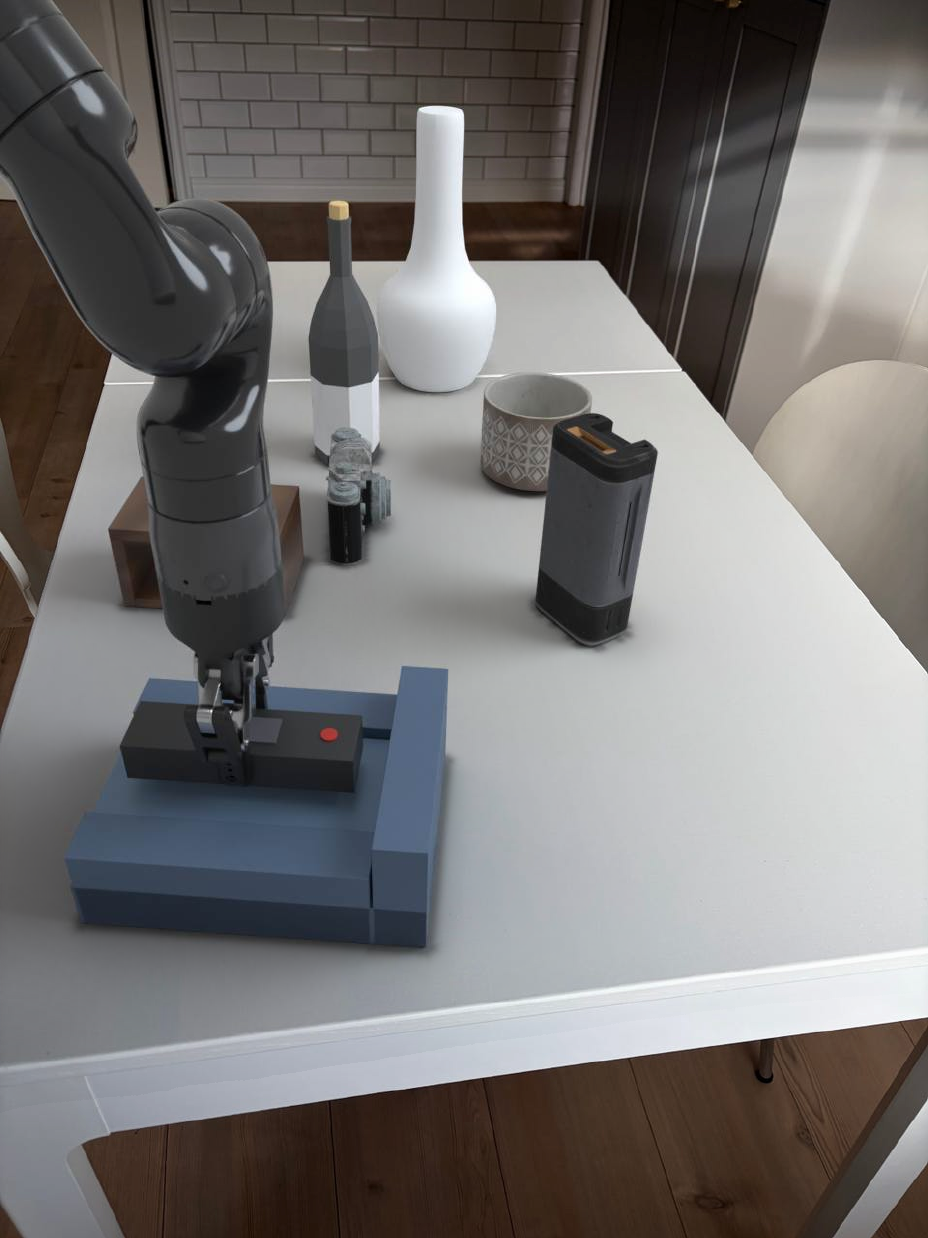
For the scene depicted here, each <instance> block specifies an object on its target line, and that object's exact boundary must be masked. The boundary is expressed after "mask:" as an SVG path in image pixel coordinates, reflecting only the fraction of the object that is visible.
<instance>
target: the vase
mask: <svg viewBox="0 0 928 1238" xmlns="http://www.w3.org/2000/svg"><path fill="white" fill-rule="evenodd" d="M415 133H416V141H415V142H416V144H415V145H416V151H415V152H416V156H415V157H416V160H415V161H416V163H415V165H416V167H415V202H414V220H413V221H414V222H413V228H412V229H413V230H412V235H411V236H412V237H411V243H410V248H409V252H408V254H407V256H406V259H405V262H404V263H403V264H402V266H401V267H400V269H398V271H397V272H395V273H394V274H393V275H392V276H391V277H389V278H388V279H387V280H386V281H385V282H384V283H383V285H382V287H381V289H380V291H379V294H378V296H377V302H376V322H377V323H376V324H377V332H378V337H379V340H380V344H381V348H382V351H383V355H384V358H385V360H386V363H387V364H388V366H389V368H390V370H391V372H392V374H393V375H394V376H395V378H396V379H397V381H398V382H399V383H401V384H402V385H404V386H405V387H407V388H410V389H411V390H416V391H419V392H427V393H449V392H455V391H459V390H462V389H465V388H466V387H468V386H470V385H471V384H472V383H473V382H474V381H475V380H476V378H477V376H478V375H479V374H480V372H481V371H482V370H483V367H484V365H485V363H486V361H487V359H488V355H489V353H490V351H491V347H492V343H493V339H494V335H495V331H496V330H495V329H496V324H497V323H496V322H497V304H496V303H497V302H496V299H495V296H494V292H493V291H492V289H491V287H490V286H489V284H488V283H487V282H486V281H485V280H484V279H483V278H482V277H481V276H480V275H478V274H477V273H476V271H475V270H474V268H473V267H472V265H471V263H470V261H469V258H468V254H467V251H466V246H465V237H464V236H465V235H464V225H463V175H464V173H463V170H464V146H465V145H464V144H465V140H464V139H465V114H464V110H463V109H461V108H458V107H454V106H446V105H429V106H422V107H419V108H418V110H417V112H416V132H415Z"/></svg>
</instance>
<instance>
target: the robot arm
mask: <svg viewBox="0 0 928 1238" xmlns="http://www.w3.org/2000/svg"><path fill="white" fill-rule="evenodd" d="M137 122H138V121H137V119H136V116H135V113H134V112H133V109H132V107H131V106H130V105H129V102H128V101H127V99H126V97H124V95H123V94H122V92H121V91H120V88H119V87H118V86H117V85H116V83H115V82H114V81H113V80H112V78H111V77H110V76H109V74H108V73H107V72H106V71H105V69H104V67H103V66H102V65H101V64H100V62H99V61H98V60H97V58H96V57H95V55H94V54H93V53H92V52H91V50H90V48H88V46H87V45H86V43H84V41H83V39H82V38H81V37H80V36H79V34H78V33H77V31H76V30H75V29H74V27H73V26H72V25H71V24H70V22H69V21H68V20H67V18H66V17H65V15H64V14H63V13H62V11H61V10H60V8H59V7H58V6H57V5H56V4H55V2H54V1H53V0H0V179H1V180H2V181H3V182H4V183H5V184H6V185H7V186H8V187H9V189H10V190H11V192H12V194H13V196H14V199H15V200H16V202H17V204H18V206H19V208H20V211H21V212H22V214H23V217H24V219H25V221H26V223H27V225H28V228H29V229H30V232H31V234H32V236H33V238H34V239H35V241H36V243H37V245H38V247H39V248H40V250H41V252H42V254H43V256H44V257H45V259H46V261H47V263H48V265H49V267H50V269H51V270H52V272H53V274H54V276H55V278H56V280H57V282H58V284H59V286H60V287H61V289H62V291H63V293H64V295H65V297H66V298H67V300H68V302H69V304H70V305H71V307H72V308H73V311H74V312H75V314H76V315H77V316H78V318H79V319H80V320H81V322H82V323H83V325H84V327H86V329H87V330H88V332H89V333H90V334H91V335H92V336H93V337H94V338H95V339H96V340H97V342H98V343H100V345H102V346H103V347H104V348H105V349H106V350H107V351H108V352H110V353H111V354H112V355H113V356H114V357H116V359H118V360H120V361H121V362H122V363H124V364H126V365H128V366H129V367H131V368H133V369H134V370H137V371H138V372H141V373H143V374H146V375H150V376H153V377H154V380H153V383H152V386H151V388H150V390H149V392H148V394H147V396H146V398H145V399H144V400H143V403H142V405H141V406H140V408H139V410H138V414H137V418H136V442H137V449H138V456H139V460H140V465H141V470H142V471H141V472H142V476H143V477H144V482H145V488H146V493H147V501H148V510H149V535H150V542H151V547H152V552H153V558H154V563H155V569H156V574H157V579H158V585H159V590H160V596H161V601H162V607H163V609H162V612H163V618H164V623H165V625H166V627H167V630H168V631H169V633H170V634H171V635H172V636H173V638H175V639H176V640H178V641H179V642H180V643H181V644H183V645H184V646H186V647H188V649H191V650H192V651H193V652H194V654H193V676H194V677H195V679H196V681H198V691H199V705H195V704H187V706H186V708H185V710H184V721H185V724H186V726H187V729H188V731H189V734H190V736H191V739H192V742H193V744H194V747H195V749H196V752H197V754H198V757H199V759H200V762H204V763H209V762H215V763H217V768H218V774H219V780H220V782H221V783H222V784H223V785H227V786H241V787H248V786H250V785H251V783H252V779H253V769H252V761H251V752H250V739H249V721H250V720H251V718H252V716H253V714H254V713H255V711H256V709H268V705H267V696H266V690H267V688H268V686H270V681H271V680H270V677H269V671H270V668H272V667H273V663H274V662H275V656H274V637H273V636H274V633H275V632H276V631H277V630H278V629H279V627H280V626H281V624H282V623H283V621H284V619H285V617H286V616H285V613H286V600H285V589H284V578H283V567H282V556H281V547H280V536H279V524H278V517H277V513H276V509H275V505H274V501H273V497H272V492H271V476H270V475H271V474H270V473H271V472H270V463H269V453H268V442H267V436H266V429H265V422H264V421H265V420H264V417H265V416H264V413H265V403H266V396H267V389H268V382H269V374H270V373H269V371H270V363H271V362H270V361H271V350H272V339H273V338H272V337H273V323H274V322H273V321H274V296H273V295H274V294H273V293H274V292H273V284H272V278H271V277H272V276H271V272H270V267H269V264H268V260H267V257H266V254H265V251H264V248H263V246H262V244H261V242H260V240H259V238H258V236H257V235H256V233H255V231H254V230H253V228H252V227H251V226H250V224H249V223H248V222H247V221H246V220H245V219H244V218H243V217H242V216H241V215H240V214H239V213H237V211H235V210H234V209H232V208H231V207H230V206H228V205H226V204H224V203H221V202H219V201H218V200H214V199H210V198H206V197H189V198H184V199H180V200H177V201H174V202H171V203H169V204H167V205H165V206H164V207H161V208H160V209H158V210H156V209H155V207H154V205H153V204H152V202H151V200H150V198H149V197H148V195H147V193H146V191H145V189H144V188H143V186H142V184H141V182H140V181H139V179H138V176H137V175H136V173H135V172H134V169H133V168H132V166H131V164H130V161H129V158H130V156H131V154H132V153H133V151H134V149H135V147H136V146H137V145H136V144H137V141H138V137H139V127H138V123H137ZM286 614H287V613H286ZM222 700H234V703H222ZM233 721H234V722H235V723H236V724H237V732H236V729H235V726H234V723H233Z"/></svg>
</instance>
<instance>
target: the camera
mask: <svg viewBox="0 0 928 1238" xmlns="http://www.w3.org/2000/svg"><path fill="white" fill-rule="evenodd" d="M327 467H328V475H327V476H325V480H326V481H328V482H327V491H326V501H327V517H328V519H327V520H328V534H329V536H328V537H329V538H328V539H329V556H330V557H329V560H330V561H331V562H332V563H334V564H337V565H343V566H346V565H349V566H350V565H354V564H358V563H359V562H361V561H362V559H363V558H362V557H363V534H365V529H366V527H368V526H373V525H374V524H381V522H382V520H386V519H387V517H391V516H392V491H391V487H392V486H391V479H389V478H387V479H386V477H385V476H382V475H381V473H380V472H373V463H372V445H371V443H370V442H369V441H368V440H366V439H365V438H361V434H359V433H358V431H357V430H356V429H354V428H340V429H338V430H336V431H335V433H333V434H331V445H330V458H328V466H327Z"/></svg>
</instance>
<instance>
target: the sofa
mask: <svg viewBox="0 0 928 1238" xmlns="http://www.w3.org/2000/svg"><path fill="white" fill-rule="evenodd" d="M448 689H449V668H444V667H443V668H441V667H426V666H411V665H410V666H409V665H401V670H400V675H399V682H398V688H397V692H396V693H382V692H381V693H380V692H365V691H352V690H350V691H349V690H335V689H319V688H307V687H288V686H274V685H269V686H268V688H267V690H266V696H267V705H268V709H273V710H289V711H304V712H319V713H335V714H350V715H362V726H363V751H362V756H361V761H360V766H359V771H358V777H357V782H356V787H355V792H354V793H345V792H330V791H315V790H301V789H286V788H271V787H256V786H248V787H241V786H227V785H223V784H211V783H196V782H181V781H166V780H151V779H136V778H127V774H126V770H125V766H124V762H123V758H122V754H121V752H120V753H119V755H118V757H117V760H116V761H115V763H114V765H113V768H112V769H111V772H110V774H109V777H108V779H107V781H106V783H105V785H104V787H103V789H102V791H101V794H100V795H99V797H98V799H97V802H96V805H95V806H94V808H93V811H85V812H84V815H83V816H82V819H81V821H80V823H79V825H78V827H77V829H76V831H75V833H74V835H73V838H72V840H71V842H70V844H69V846H68V847H67V850H66V852H65V854H64V856H63V860H64V863H65V866H66V870H67V872H68V876H69V879H70V882H71V884H70V885H69V888H70V891H71V895H72V897H73V901H74V903H75V906H76V907H75V908H76V910H77V913H78V916H79V920H80V922H81V924H90V925H91V924H92V925H93V924H94V925H108V926H120V927H121V926H122V927H135V928H147V929H160V930H161V929H163V930H176V931H177V930H178V931H188V932H189V931H190V932H204V933H217V934H232V935H243V936H260V937H271V938H272V937H274V938H288V939H300V940H302V939H303V940H312V941H313V940H316V941H327V942H328V941H329V942H340V943H341V942H343V943H357V944H358V943H359V944H369V945H384V946H397V947H398V946H400V947H410V948H412V947H414V948H427V945H428V934H429V925H430V924H429V923H430V914H431V905H432V895H433V894H432V893H433V885H434V875H435V864H436V853H437V845H438V844H437V843H438V837H439V836H438V835H439V826H440V825H439V824H440V816H441V806H442V805H441V804H442V796H443V795H442V794H443V786H444V775H445V765H446V747H447V745H446V743H447V722H448V721H447V719H448ZM140 701H150V702H166V703H181V704H196V705H199V691H198V680H184V679H168V678H153V677H149V678H148V679H147V681H146V684H145V686H144V688H143V690H142V692H141V694H140V695H139V698H138V701H137V702H136V704H135V707H134V709H133V711H132V714H133V715H134V714H135V712H136V710H137V707H138V705H139V703H140ZM222 703H234V700H222Z"/></svg>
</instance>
